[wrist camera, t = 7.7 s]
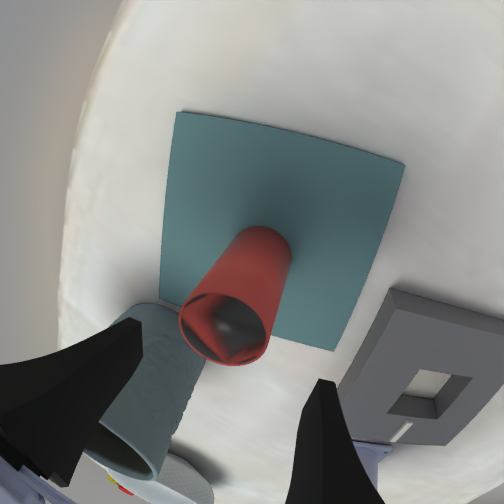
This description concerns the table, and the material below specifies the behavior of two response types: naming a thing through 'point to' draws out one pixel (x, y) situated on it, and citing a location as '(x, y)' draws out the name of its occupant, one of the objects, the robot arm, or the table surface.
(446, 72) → the table surface
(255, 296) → the red cylinder
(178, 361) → the plant pot
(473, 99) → the table surface
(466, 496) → the table surface
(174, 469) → the cereal bowl
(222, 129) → the bench mat
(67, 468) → the robot arm
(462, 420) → the square hole block
